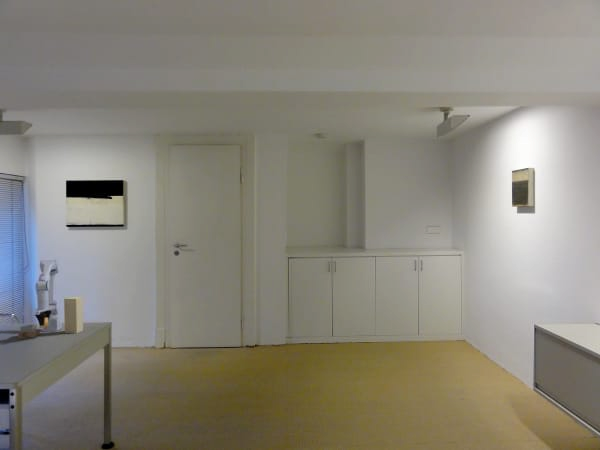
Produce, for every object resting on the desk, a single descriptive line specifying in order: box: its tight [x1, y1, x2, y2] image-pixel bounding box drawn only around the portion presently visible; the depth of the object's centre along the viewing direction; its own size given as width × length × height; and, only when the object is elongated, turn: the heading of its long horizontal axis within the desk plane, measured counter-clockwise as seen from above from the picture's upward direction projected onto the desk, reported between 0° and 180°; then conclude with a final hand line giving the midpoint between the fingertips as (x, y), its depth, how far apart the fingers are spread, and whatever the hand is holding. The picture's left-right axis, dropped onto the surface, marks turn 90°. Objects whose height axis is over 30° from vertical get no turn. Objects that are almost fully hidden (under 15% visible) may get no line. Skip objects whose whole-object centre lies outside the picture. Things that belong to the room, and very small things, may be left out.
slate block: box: [20, 323, 38, 333], centre depth 258 cm, size 6×6×4 cm
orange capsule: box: [39, 317, 48, 329], centre depth 255 cm, size 4×4×5 cm
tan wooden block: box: [63, 296, 84, 334], centre depth 266 cm, size 8×7×21 cm
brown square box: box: [17, 328, 41, 339], centre depth 259 cm, size 8×8×4 cm
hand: (43, 324), depth 255 cm, fingers closed on orange capsule, 4 cm apart
